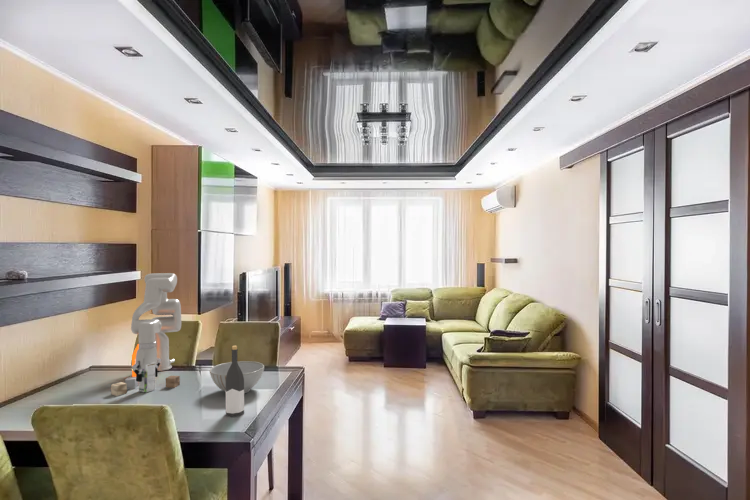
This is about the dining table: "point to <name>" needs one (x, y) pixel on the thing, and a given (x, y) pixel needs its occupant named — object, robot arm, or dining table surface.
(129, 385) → the slate painted cube
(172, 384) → the walnut cube
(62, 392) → the dining table surface
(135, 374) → the orange juice
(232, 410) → the wine bottle
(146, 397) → the dining table surface
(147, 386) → the syrup box
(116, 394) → the maple cube
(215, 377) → the decorative bowl
